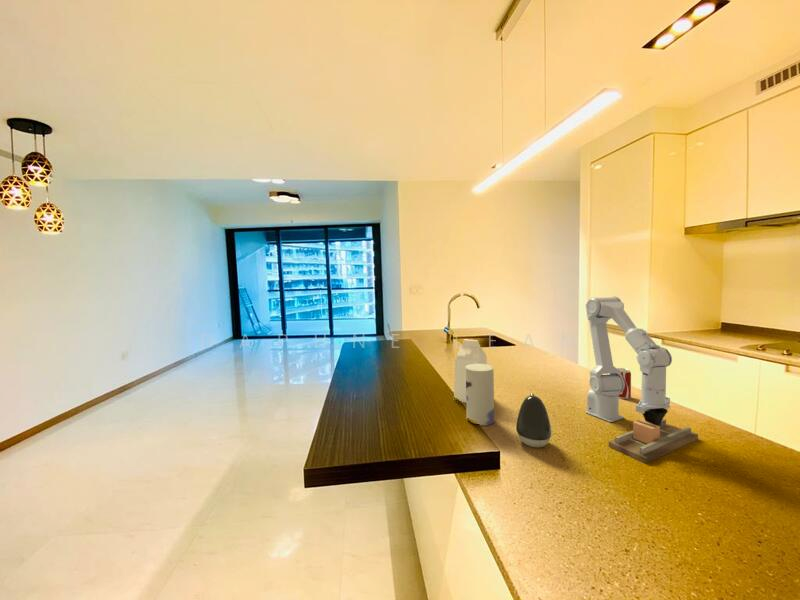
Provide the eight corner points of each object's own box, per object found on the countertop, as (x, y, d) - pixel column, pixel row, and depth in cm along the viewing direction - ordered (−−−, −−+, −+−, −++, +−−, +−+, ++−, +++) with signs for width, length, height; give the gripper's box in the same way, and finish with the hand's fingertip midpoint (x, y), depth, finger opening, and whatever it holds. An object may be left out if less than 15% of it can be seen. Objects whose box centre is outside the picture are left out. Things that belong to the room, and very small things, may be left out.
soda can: (633, 399, 128) (633, 371, 128) (619, 399, 130) (619, 371, 129) (626, 395, 134) (627, 367, 133) (613, 394, 135) (613, 367, 134)
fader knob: (633, 438, 95) (633, 421, 95) (640, 435, 97) (640, 418, 97) (651, 445, 91) (652, 428, 90) (659, 442, 92) (659, 425, 92)
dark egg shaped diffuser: (549, 437, 101) (549, 391, 100) (553, 454, 91) (553, 403, 90) (516, 433, 104) (515, 388, 103) (516, 449, 95) (516, 400, 94)
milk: (489, 396, 137) (488, 338, 136) (481, 406, 128) (479, 343, 126) (463, 392, 144) (462, 336, 142) (453, 400, 134) (452, 341, 133)
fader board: (608, 446, 94) (608, 435, 94) (660, 425, 106) (660, 416, 106) (645, 463, 85) (646, 451, 85) (697, 438, 97) (698, 428, 97)
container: (463, 414, 120) (462, 364, 119) (488, 413, 121) (487, 362, 119) (471, 426, 110) (470, 371, 109) (498, 424, 111) (497, 369, 109)
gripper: (655, 396, 88) (654, 442, 88) (682, 387, 94) (681, 430, 94) (628, 388, 94) (627, 432, 95) (655, 380, 100) (654, 421, 101)
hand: (652, 430), depth 95 cm, fingers closed
